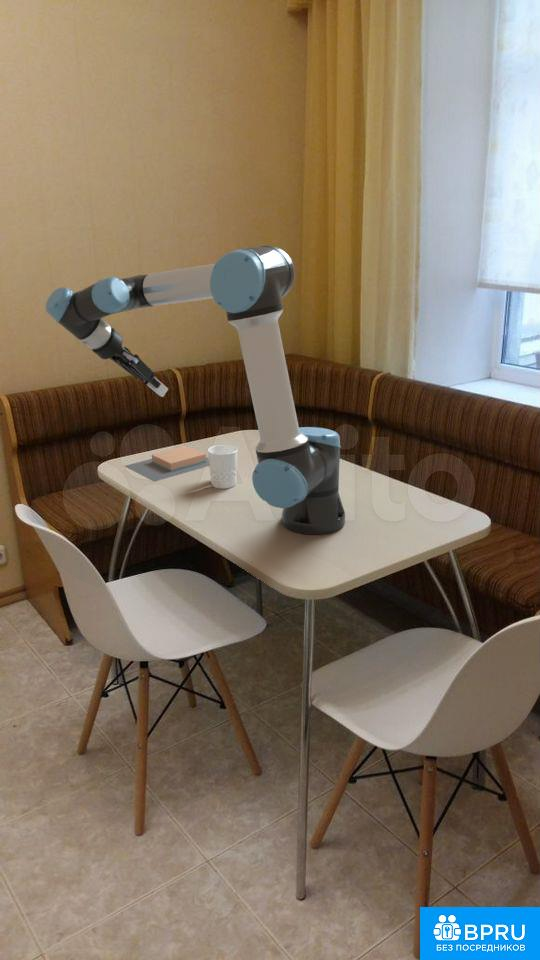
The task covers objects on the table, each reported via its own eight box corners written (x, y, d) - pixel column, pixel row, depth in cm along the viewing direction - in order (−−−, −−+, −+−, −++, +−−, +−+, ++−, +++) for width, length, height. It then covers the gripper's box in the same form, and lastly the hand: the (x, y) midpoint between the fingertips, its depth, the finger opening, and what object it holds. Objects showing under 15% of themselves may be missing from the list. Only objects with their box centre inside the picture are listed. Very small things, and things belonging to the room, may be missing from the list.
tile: (170, 463, 211) (205, 454, 219) (151, 454, 218) (186, 445, 226) (171, 471, 212) (206, 462, 219) (152, 462, 219) (186, 453, 227)
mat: (154, 483, 206) (154, 481, 206) (124, 467, 217) (124, 465, 217) (219, 464, 219) (219, 462, 219) (187, 451, 230) (187, 449, 230)
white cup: (225, 492, 200) (224, 456, 196) (203, 485, 204) (201, 450, 201) (244, 483, 206) (243, 448, 202) (222, 477, 210) (221, 442, 206)
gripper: (80, 347, 189) (143, 399, 205) (105, 354, 180) (170, 408, 195) (96, 323, 190) (158, 377, 206) (123, 328, 181) (185, 384, 197)
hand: (164, 392), depth 201 cm, fingers closed
